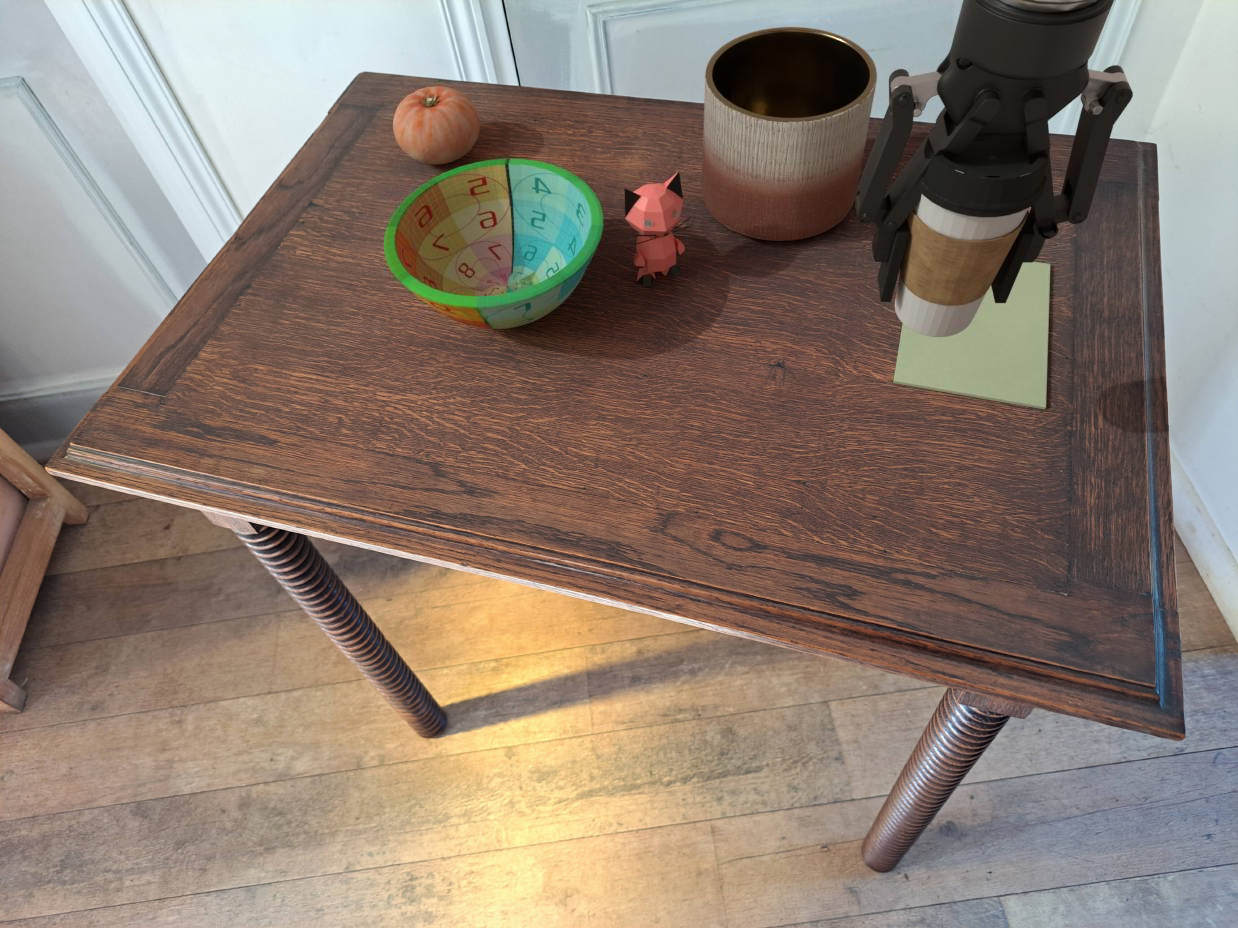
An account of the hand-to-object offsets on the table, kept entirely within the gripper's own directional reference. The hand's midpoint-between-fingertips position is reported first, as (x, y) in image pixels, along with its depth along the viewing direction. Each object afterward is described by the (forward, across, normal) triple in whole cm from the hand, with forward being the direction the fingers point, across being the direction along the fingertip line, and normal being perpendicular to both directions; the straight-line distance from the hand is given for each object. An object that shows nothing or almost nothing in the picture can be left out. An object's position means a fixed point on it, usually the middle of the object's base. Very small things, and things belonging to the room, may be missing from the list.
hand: (940, 289), depth 64 cm
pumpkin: (+19, +52, -44) cm, 71 cm away
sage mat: (+19, -10, -15) cm, 26 cm away
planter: (+19, +10, -35) cm, 41 cm away
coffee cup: (+2, 0, 0) cm, 2 cm away
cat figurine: (+19, +23, -22) cm, 38 cm away
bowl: (+19, +39, -18) cm, 47 cm away
